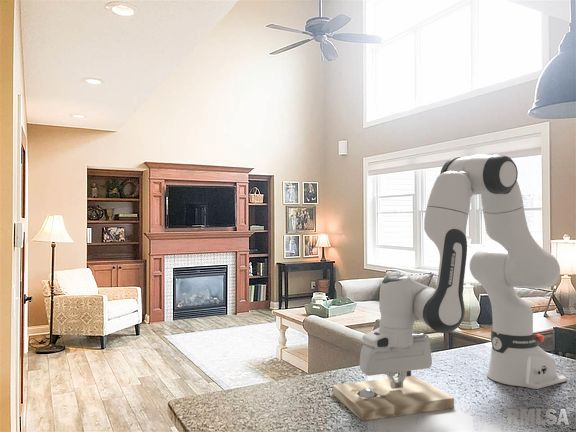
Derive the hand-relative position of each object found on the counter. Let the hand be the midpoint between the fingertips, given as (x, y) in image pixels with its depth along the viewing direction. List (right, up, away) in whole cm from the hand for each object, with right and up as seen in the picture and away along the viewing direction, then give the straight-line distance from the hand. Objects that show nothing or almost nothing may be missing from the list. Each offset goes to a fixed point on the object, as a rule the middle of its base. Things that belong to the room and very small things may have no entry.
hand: (396, 387), depth 125 cm
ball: (-9, -1, -3) cm, 9 cm away
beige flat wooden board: (-2, -3, -1) cm, 4 cm away
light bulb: (+7, -4, +20) cm, 22 cm away
